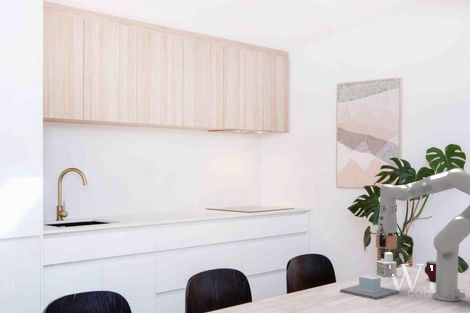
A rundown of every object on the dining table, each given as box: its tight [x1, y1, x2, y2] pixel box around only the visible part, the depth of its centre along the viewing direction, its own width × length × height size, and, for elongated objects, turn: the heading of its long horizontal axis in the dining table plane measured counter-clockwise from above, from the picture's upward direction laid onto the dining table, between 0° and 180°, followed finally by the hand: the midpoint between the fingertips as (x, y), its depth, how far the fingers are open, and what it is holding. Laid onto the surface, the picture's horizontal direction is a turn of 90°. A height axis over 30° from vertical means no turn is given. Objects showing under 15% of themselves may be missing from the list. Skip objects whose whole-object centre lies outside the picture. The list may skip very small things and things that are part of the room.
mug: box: [424, 260, 436, 283], centre depth 314 cm, size 11×8×10 cm
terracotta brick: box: [375, 234, 398, 250], centre depth 288 cm, size 8×6×6 cm
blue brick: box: [358, 275, 381, 292], centre depth 284 cm, size 8×6×6 cm
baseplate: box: [339, 284, 400, 301], centre depth 284 cm, size 20×20×1 cm
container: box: [376, 250, 398, 278], centre depth 327 cm, size 8×8×13 cm
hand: (386, 245), depth 288 cm, fingers closed on terracotta brick, 6 cm apart
